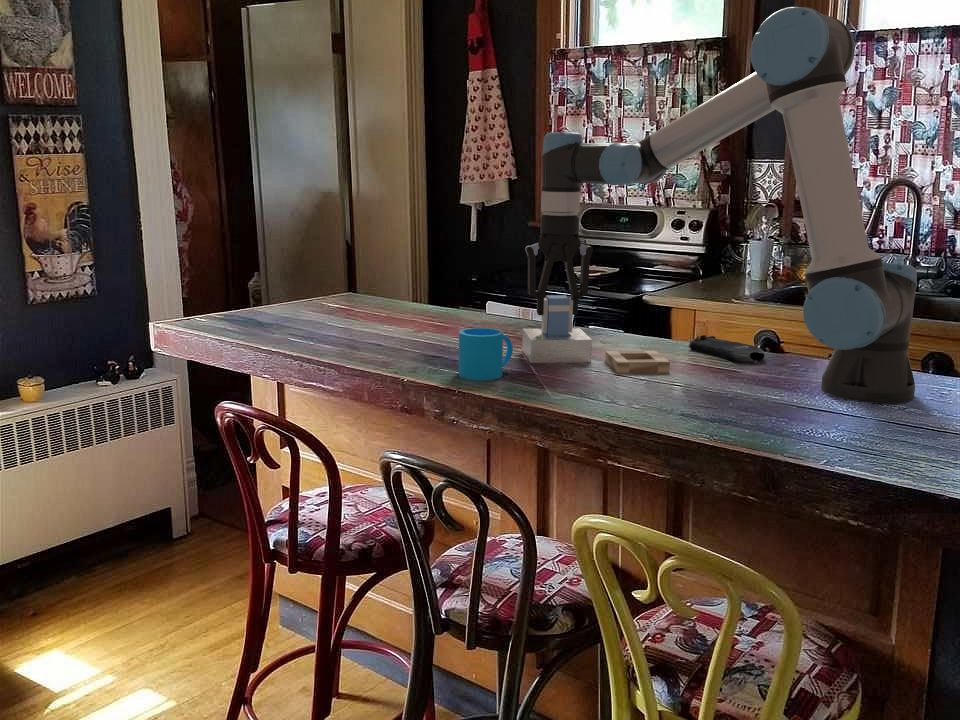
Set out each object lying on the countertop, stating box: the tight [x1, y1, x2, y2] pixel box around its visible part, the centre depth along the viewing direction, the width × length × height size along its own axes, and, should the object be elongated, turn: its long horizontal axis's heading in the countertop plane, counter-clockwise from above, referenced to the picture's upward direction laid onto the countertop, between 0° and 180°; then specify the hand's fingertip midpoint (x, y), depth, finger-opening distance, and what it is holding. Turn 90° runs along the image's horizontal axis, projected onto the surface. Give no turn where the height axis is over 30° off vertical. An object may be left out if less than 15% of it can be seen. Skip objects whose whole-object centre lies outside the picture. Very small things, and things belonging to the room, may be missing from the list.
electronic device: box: [688, 334, 766, 364], centre depth 189 cm, size 9×6×15 cm
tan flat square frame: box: [604, 350, 671, 374], centre depth 176 cm, size 10×10×2 cm
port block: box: [521, 327, 593, 366], centre depth 184 cm, size 12×12×5 cm
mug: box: [458, 327, 514, 381], centre depth 171 cm, size 12×8×8 cm
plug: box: [545, 294, 570, 337], centre depth 183 cm, size 4×4×10 cm
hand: (556, 330), depth 184 cm, fingers open, 4 cm apart
